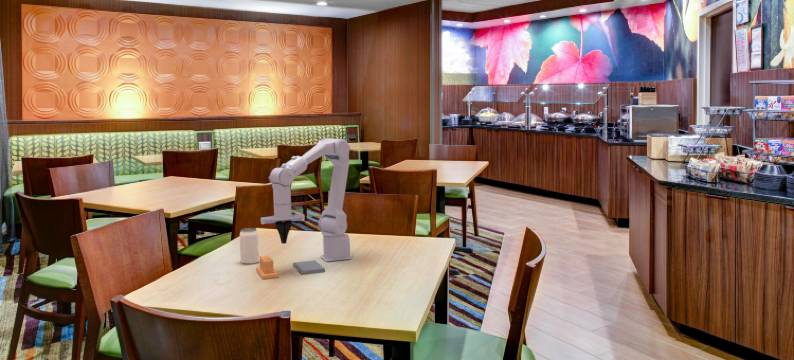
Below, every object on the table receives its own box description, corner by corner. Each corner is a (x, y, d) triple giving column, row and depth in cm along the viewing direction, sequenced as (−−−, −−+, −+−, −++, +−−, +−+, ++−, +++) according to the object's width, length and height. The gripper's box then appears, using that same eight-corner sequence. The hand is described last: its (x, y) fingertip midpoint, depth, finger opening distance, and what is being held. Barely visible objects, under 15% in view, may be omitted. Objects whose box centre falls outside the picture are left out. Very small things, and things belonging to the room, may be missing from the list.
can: (254, 264, 218) (253, 231, 216) (237, 263, 219) (236, 231, 218) (262, 260, 224) (260, 227, 223) (245, 259, 225) (244, 227, 224)
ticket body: (315, 263, 219) (315, 259, 219) (324, 271, 208) (324, 268, 208) (293, 265, 216) (293, 262, 216) (301, 274, 205) (301, 270, 205)
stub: (270, 268, 213) (270, 253, 212) (278, 277, 202) (277, 262, 201) (256, 269, 211) (255, 255, 210) (262, 279, 200) (262, 263, 199)
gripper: (300, 200, 213) (301, 238, 214) (258, 203, 207) (260, 242, 209) (305, 203, 206) (306, 242, 208) (262, 206, 201) (264, 247, 202)
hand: (283, 243), depth 208 cm, fingers closed
